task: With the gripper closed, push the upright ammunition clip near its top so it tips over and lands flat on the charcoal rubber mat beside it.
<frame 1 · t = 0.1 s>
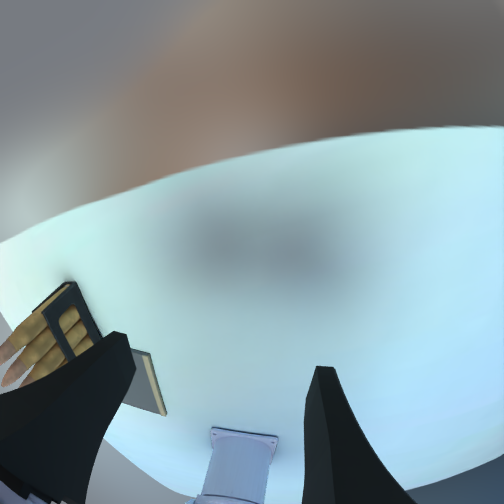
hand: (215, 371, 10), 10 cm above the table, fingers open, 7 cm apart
ammunition clip: (91, 328, 25), on the table, touching mat
mat: (109, 372, 28), on the table
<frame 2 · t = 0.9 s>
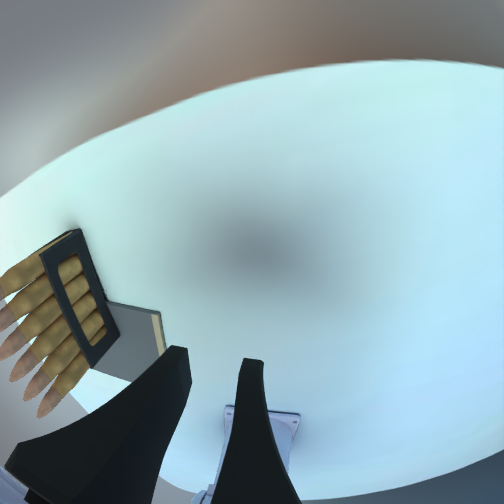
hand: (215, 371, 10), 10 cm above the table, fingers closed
ammunition clip: (93, 285, 23), on the table, touching mat
mat: (111, 342, 26), on the table
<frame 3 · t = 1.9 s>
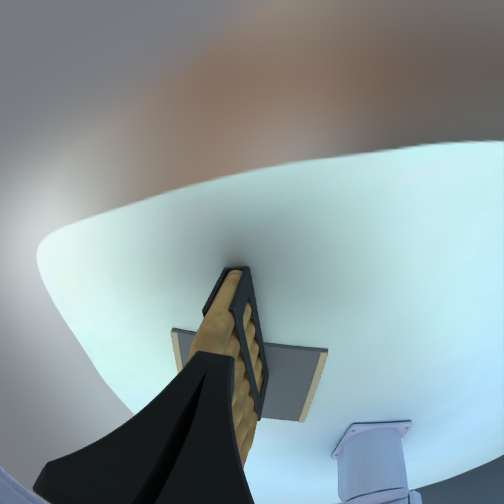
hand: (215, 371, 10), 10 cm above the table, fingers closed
ammunition clip: (249, 328, 22), on the table, touching gripper, mat
mat: (245, 382, 25), on the table
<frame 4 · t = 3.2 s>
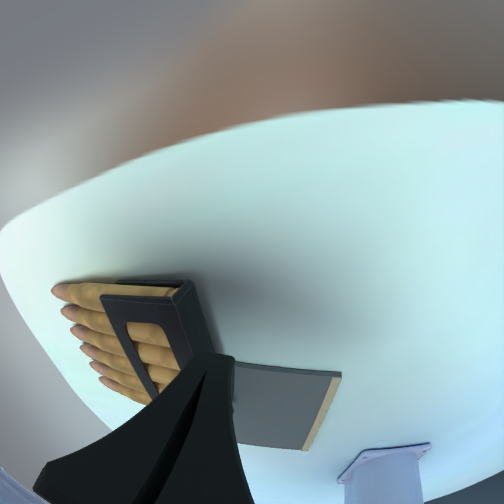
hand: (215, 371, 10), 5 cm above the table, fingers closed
ammunition clip: (214, 371, 15), point 2 cm above the table, touching mat
mat: (236, 408, 20), on the table
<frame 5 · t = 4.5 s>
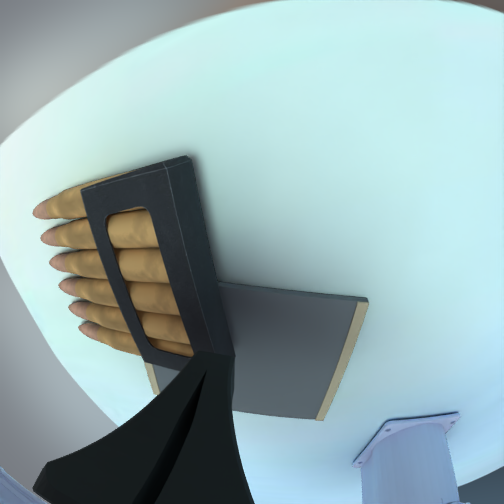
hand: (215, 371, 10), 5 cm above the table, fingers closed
ammunition clip: (211, 283, 12), point 2 cm above the table, touching mat
mat: (238, 359, 17), on the table
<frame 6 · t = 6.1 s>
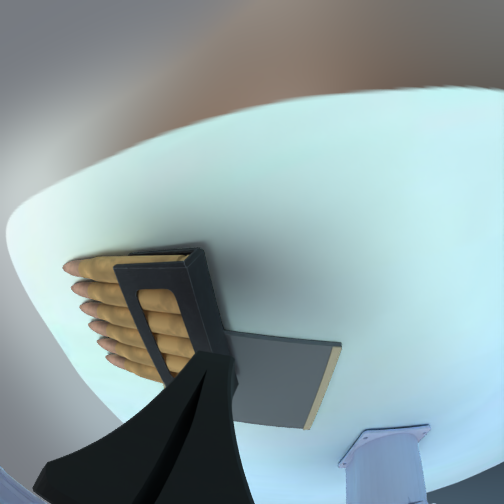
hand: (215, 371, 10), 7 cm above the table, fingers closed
ammunition clip: (220, 338, 16), point 2 cm above the table, touching mat
mat: (240, 383, 21), on the table
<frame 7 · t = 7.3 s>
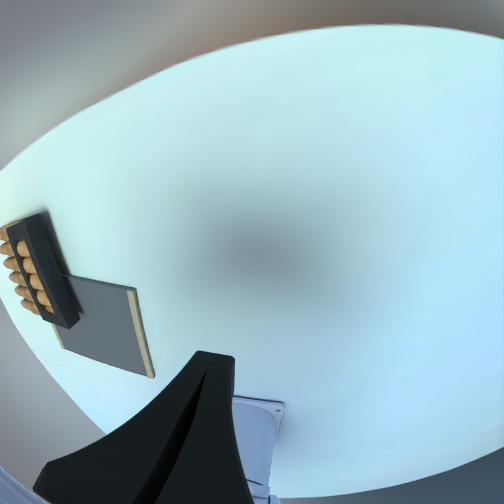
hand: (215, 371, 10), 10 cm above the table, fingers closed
ammunition clip: (53, 274, 21), point 2 cm above the table, touching mat
mat: (91, 323, 25), on the table
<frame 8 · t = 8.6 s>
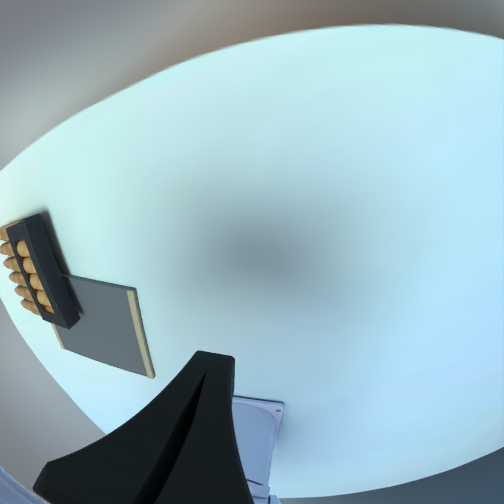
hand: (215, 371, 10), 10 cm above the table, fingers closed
ammunition clip: (53, 274, 21), point 2 cm above the table, touching mat
mat: (91, 323, 25), on the table
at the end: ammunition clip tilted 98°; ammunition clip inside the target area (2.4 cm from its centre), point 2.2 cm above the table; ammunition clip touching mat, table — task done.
